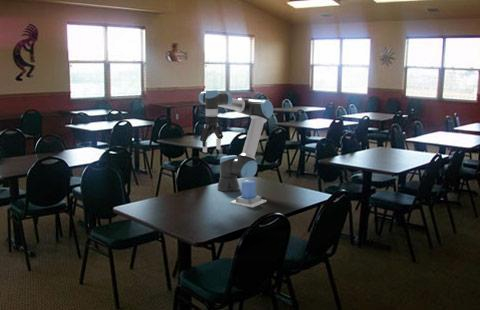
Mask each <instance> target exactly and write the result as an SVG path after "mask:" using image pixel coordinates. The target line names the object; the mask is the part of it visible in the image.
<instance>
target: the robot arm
mask: <svg viewBox="0 0 480 310" xmlns="http://www.w3.org/2000/svg"><path fill="white" fill-rule="evenodd" d="M198 101H199V103H200V104H204V105H205V123H206V124H202V125H203V126H202V131H201V134H200V138H199V141H200V142H202V153H208V141H207V140H208V137H209V135H210V133H212V132H214V135H215V136H216V138H215V140H216V146H215V149H216V150H221V149H222V148H221V143H222V140H223V138H224V134H223V131H222V127H221V123H220V122H219V116H218V115H219V107H220V108H224V109H228V110H232V111H235V112H236V113H239V114H243V115H246V116H249V117H250V119H251V120H250V125H249V128H248V131H247V135H246V139H245V141H244V145H243V149H242V152H241V153H240V154H238V155H235V154H234V155H233V154H232V155H231V154H230V155H224V156H221V157H220V160H219V180H218V184H217V190H218V191H220V192H225V193H231V192H237V191H239V190H240V183H239V180H238V177H241V178H243V179H246V178H247V179H251V178H252V177H254V176H256V173H257V171H258V163H257V162H256V161H257V158H256V157H255V156H256V153H257V149H258V146H259V141H260V138H261V134H262V132H263V127H264V124H265V123H266V122H268V119H269V118H271V117H272V116H273V114H274V106H273V103H272V102H271V101H270V100H268V99H260V98H259V99H257V98H256V99H255V98H241V97H240V98H233V95H232V93H230V92H226V91H225V92H219V91H218V90H217V89H207V90H205V91H201V92H200V93H199V95H198Z"/></svg>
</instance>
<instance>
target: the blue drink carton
mask: <svg viewBox="0 0 480 310" xmlns="http://www.w3.org/2000/svg"><path fill="white" fill-rule="evenodd" d="M255 195H256V181H255V180H248V179H247V180H246V179H245V180H244V181H242V182H241V196H242V198H244V199H249V200H250V199H252V198H255Z"/></svg>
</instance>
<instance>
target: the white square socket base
mask: <svg viewBox="0 0 480 310" xmlns="http://www.w3.org/2000/svg"><path fill="white" fill-rule="evenodd" d="M264 203H267V199H263V198H262V196H261V195H257V194H255V198H252V199H250V200H249V199H244V198H242V195H240V196H237V197H235V199H233V200H231V201H230V204H233V205H237V206H243V207H248V208H255V207H257V206H259V205H261V204H264Z"/></svg>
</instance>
